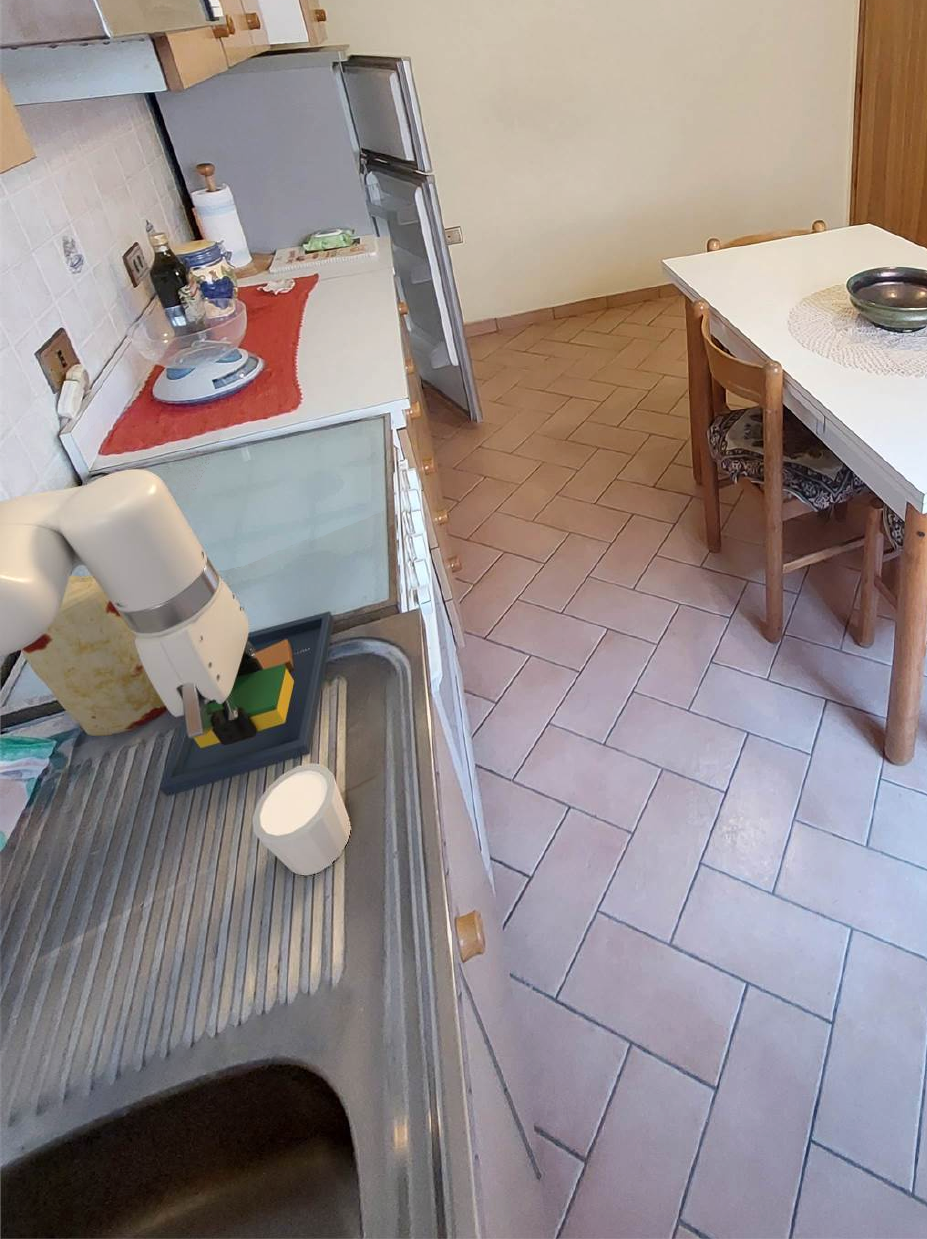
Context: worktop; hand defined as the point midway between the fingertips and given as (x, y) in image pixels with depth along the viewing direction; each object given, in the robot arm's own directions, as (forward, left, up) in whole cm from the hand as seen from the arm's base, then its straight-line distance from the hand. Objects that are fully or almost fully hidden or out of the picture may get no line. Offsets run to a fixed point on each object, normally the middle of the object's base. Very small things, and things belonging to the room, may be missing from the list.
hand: (247, 711), depth 75 cm
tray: (-1, +5, -5) cm, 7 cm away
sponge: (0, 0, 0) cm, 0 cm away
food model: (-14, +8, -5) cm, 17 cm away
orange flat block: (0, +9, -4) cm, 10 cm away
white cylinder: (+8, -13, -5) cm, 16 cm away
